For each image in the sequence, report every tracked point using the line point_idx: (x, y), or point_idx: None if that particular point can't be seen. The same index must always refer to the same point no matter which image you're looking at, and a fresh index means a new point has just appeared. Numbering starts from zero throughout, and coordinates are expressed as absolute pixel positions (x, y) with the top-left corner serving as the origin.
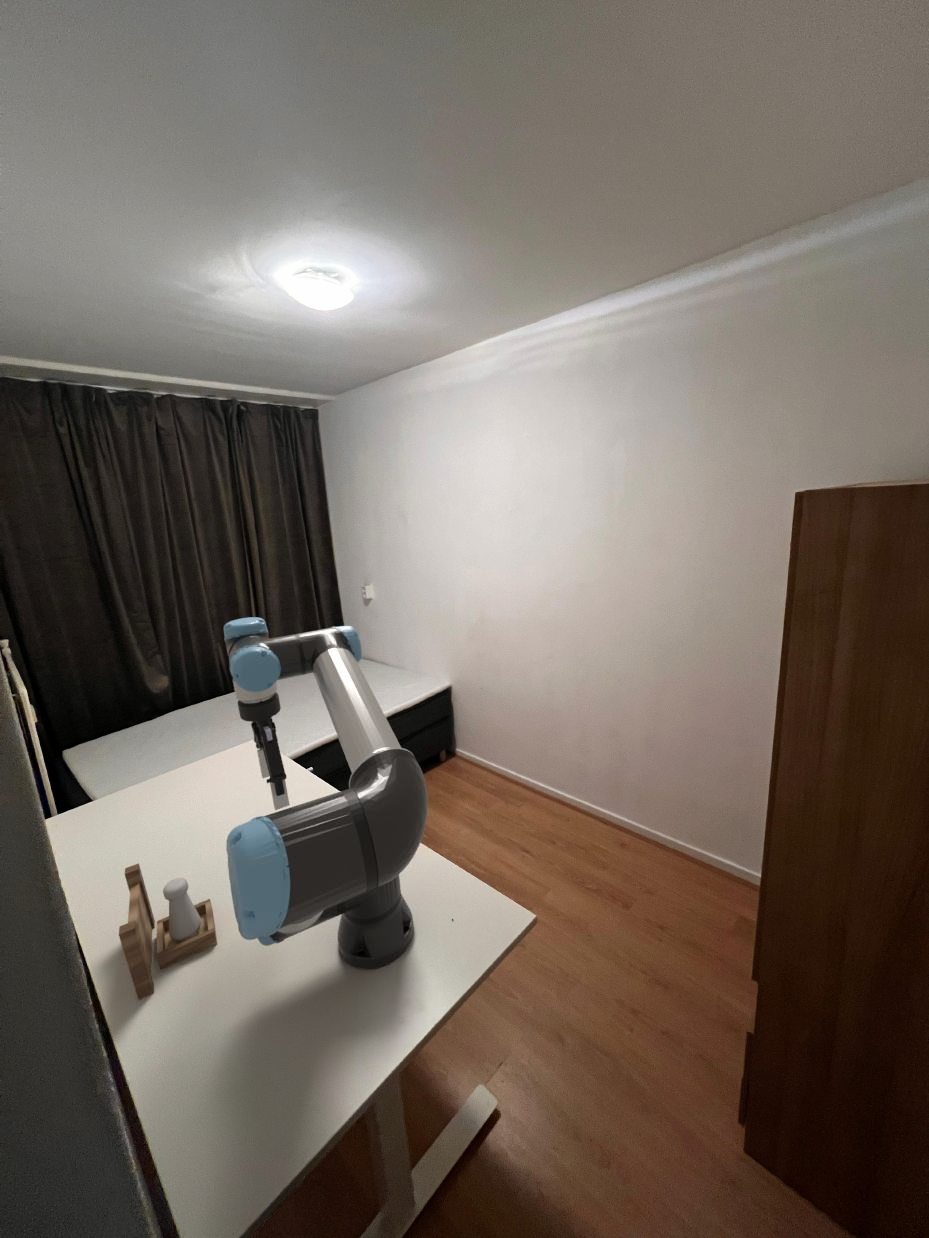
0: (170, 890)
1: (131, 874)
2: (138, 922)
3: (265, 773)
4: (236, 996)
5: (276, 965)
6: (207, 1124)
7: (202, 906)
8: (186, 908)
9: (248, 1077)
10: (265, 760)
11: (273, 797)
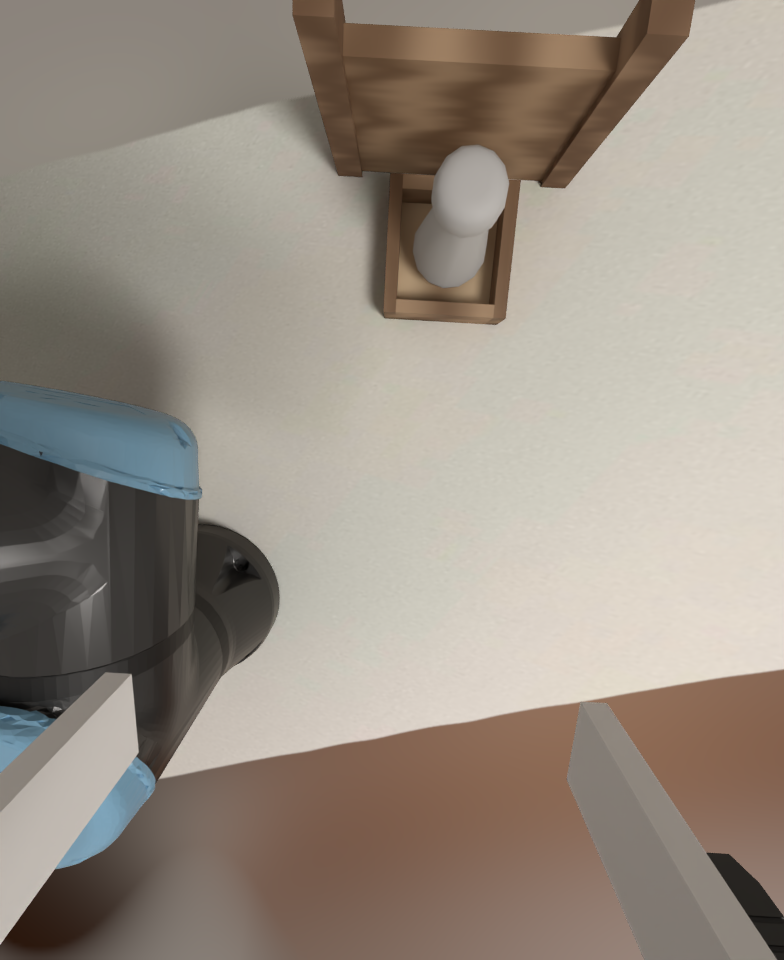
0: (447, 166)
1: (644, 12)
2: (419, 74)
3: (590, 752)
4: (228, 331)
5: (252, 414)
6: (22, 246)
7: (494, 298)
8: (432, 238)
9: (63, 320)
10: (657, 903)
11: (17, 762)
